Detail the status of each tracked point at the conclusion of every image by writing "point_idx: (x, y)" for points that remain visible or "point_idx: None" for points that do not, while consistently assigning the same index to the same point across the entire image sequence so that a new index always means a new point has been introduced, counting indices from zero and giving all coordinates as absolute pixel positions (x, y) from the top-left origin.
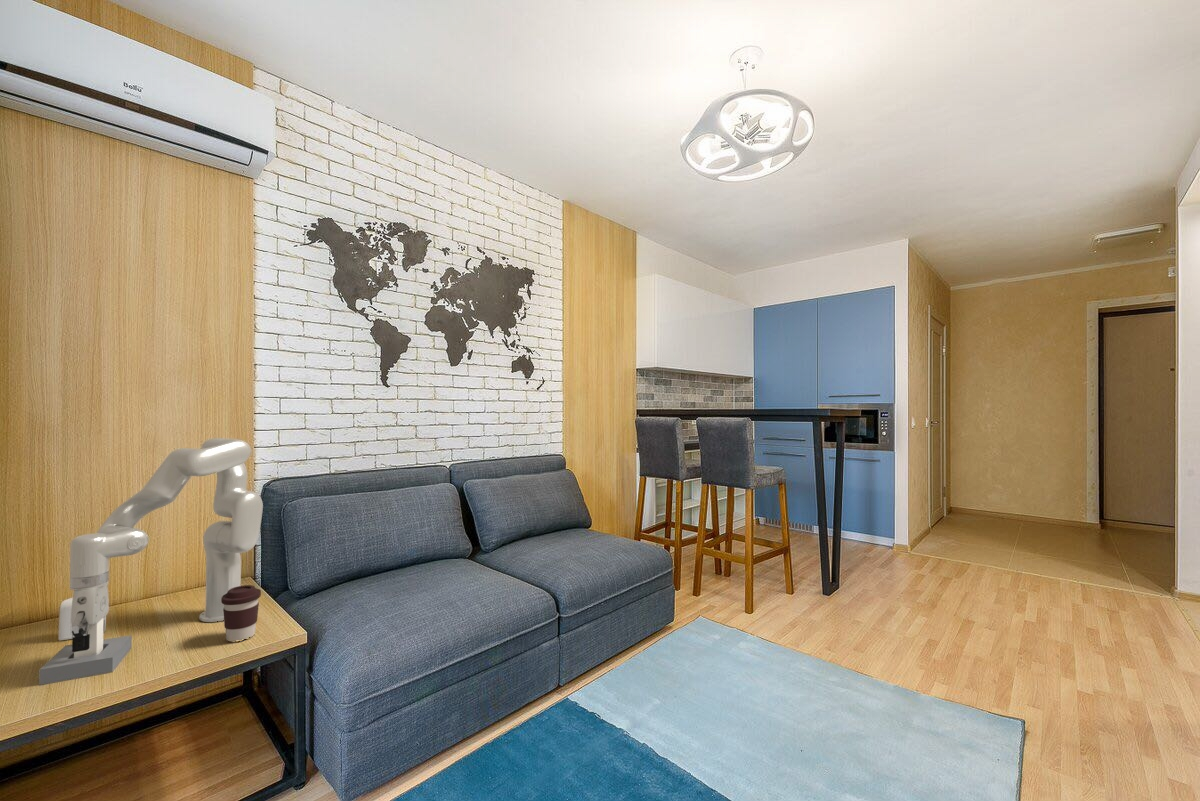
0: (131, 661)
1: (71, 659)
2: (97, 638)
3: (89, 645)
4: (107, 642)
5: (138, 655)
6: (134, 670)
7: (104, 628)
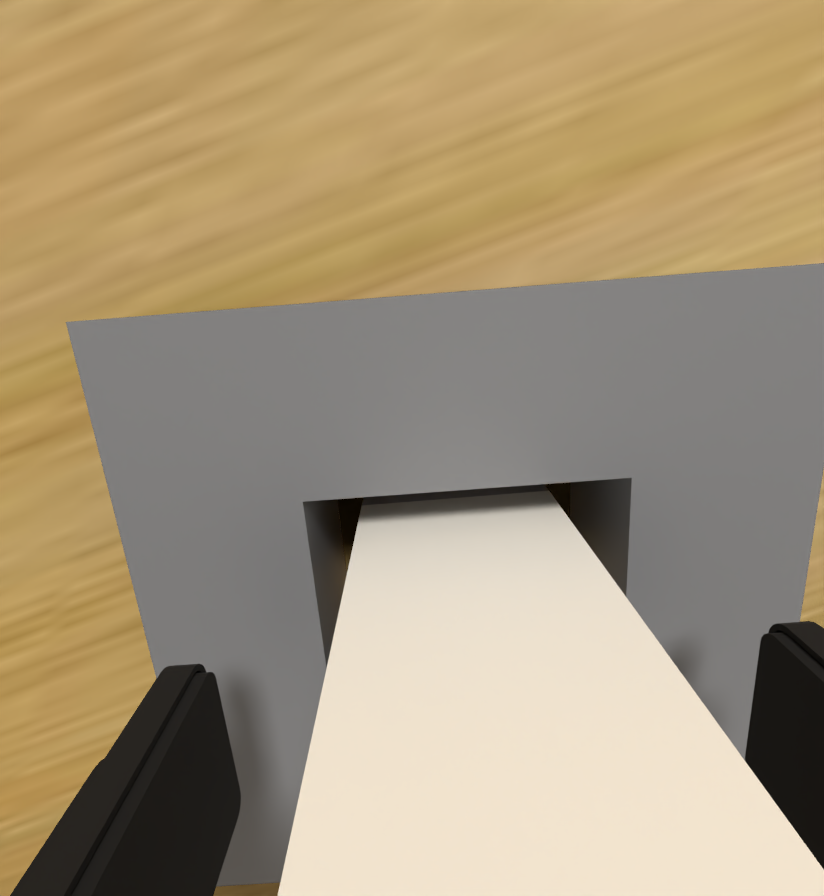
0: (518, 177)
1: None
2: (618, 648)
3: (817, 651)
4: (258, 536)
5: (374, 161)
6: (801, 38)
7: (126, 726)
